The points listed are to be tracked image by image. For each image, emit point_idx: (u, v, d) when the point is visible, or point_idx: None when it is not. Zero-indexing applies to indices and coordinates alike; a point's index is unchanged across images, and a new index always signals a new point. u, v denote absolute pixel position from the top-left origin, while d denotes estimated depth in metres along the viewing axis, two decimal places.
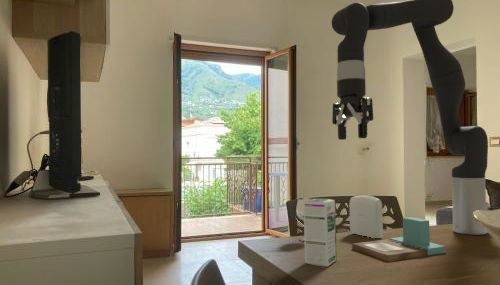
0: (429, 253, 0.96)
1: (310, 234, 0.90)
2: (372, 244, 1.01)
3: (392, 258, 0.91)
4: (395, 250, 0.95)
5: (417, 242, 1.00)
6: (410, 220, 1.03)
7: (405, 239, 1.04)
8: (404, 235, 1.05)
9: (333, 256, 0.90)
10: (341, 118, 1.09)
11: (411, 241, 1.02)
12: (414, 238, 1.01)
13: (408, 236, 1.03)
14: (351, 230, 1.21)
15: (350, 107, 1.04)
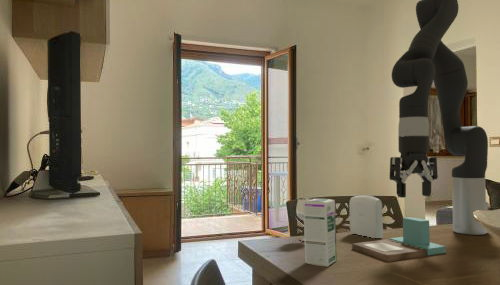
0: (429, 253, 0.96)
1: (310, 234, 0.90)
2: (372, 244, 1.01)
3: (392, 258, 0.91)
4: (395, 250, 0.95)
5: (417, 242, 1.00)
6: (410, 220, 1.03)
7: (405, 239, 1.04)
8: (404, 235, 1.05)
9: (333, 256, 0.90)
10: None
11: (411, 241, 1.02)
12: (414, 238, 1.01)
13: (408, 236, 1.03)
14: (351, 230, 1.21)
15: (424, 165, 1.02)
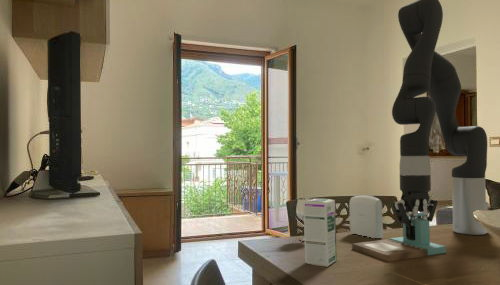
0: (429, 253, 0.96)
1: (311, 234, 0.90)
2: (372, 244, 1.01)
3: (392, 258, 0.91)
4: (395, 250, 0.95)
5: (417, 242, 1.01)
6: None
7: (405, 239, 1.04)
8: (404, 235, 1.05)
9: (333, 256, 0.90)
10: None
11: (411, 241, 1.02)
12: None
13: None
14: (351, 230, 1.21)
15: (425, 204, 1.02)
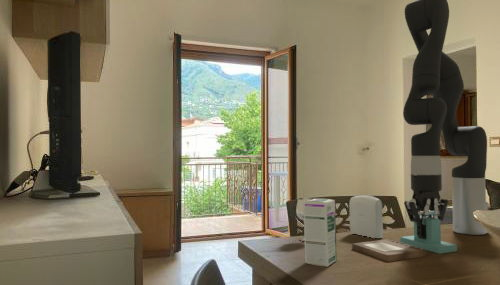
0: (441, 252, 0.97)
1: (311, 234, 0.90)
2: (372, 244, 1.01)
3: (392, 258, 0.91)
4: (395, 250, 0.95)
5: (428, 241, 1.02)
6: None
7: (416, 238, 1.06)
8: (415, 234, 1.06)
9: (333, 256, 0.90)
10: None
11: (422, 240, 1.04)
12: None
13: None
14: (351, 230, 1.21)
15: (436, 203, 1.03)
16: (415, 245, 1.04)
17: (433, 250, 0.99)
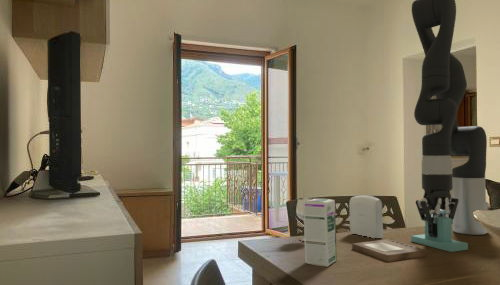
0: (452, 250, 0.99)
1: (310, 234, 0.90)
2: (372, 244, 1.01)
3: (392, 258, 0.91)
4: (395, 250, 0.95)
5: (439, 239, 1.04)
6: None
7: (427, 236, 1.07)
8: (426, 232, 1.08)
9: (333, 256, 0.90)
10: None
11: (433, 238, 1.05)
12: None
13: None
14: (351, 230, 1.21)
15: (447, 203, 1.05)
16: (426, 244, 1.06)
17: (444, 248, 1.00)
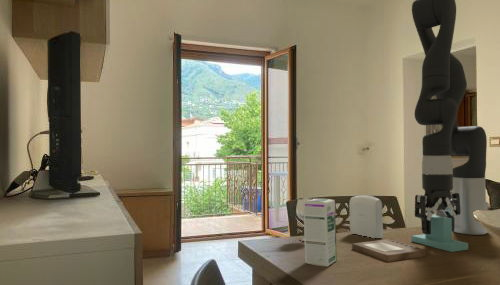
0: (453, 250, 0.99)
1: (310, 234, 0.90)
2: (372, 244, 1.01)
3: (392, 258, 0.91)
4: (395, 250, 0.95)
5: (440, 239, 1.04)
6: (432, 218, 1.06)
7: (427, 236, 1.07)
8: None
9: (333, 256, 0.90)
10: None
11: (434, 238, 1.05)
12: (437, 235, 1.05)
13: None
14: (351, 230, 1.21)
15: (448, 202, 1.05)
16: (426, 243, 1.06)
17: (445, 248, 1.00)
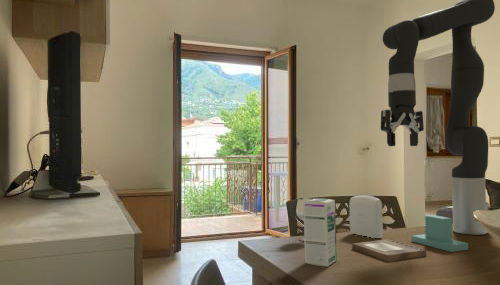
0: (453, 250, 0.99)
1: (310, 234, 0.90)
2: (372, 244, 1.01)
3: (392, 258, 0.91)
4: (395, 250, 0.95)
5: (440, 239, 1.04)
6: (432, 218, 1.06)
7: (427, 236, 1.07)
8: (426, 232, 1.08)
9: (333, 256, 0.90)
10: None
11: (434, 238, 1.05)
12: (437, 235, 1.05)
13: (430, 233, 1.06)
14: (351, 230, 1.21)
15: (412, 117, 1.14)
16: (426, 243, 1.06)
17: (445, 248, 1.00)
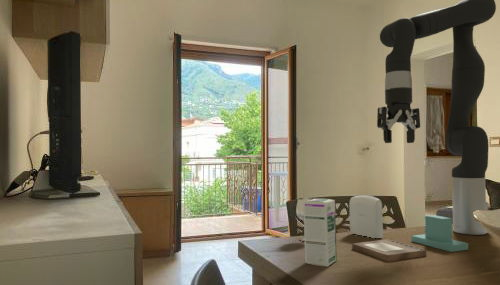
0: (453, 250, 0.99)
1: (310, 234, 0.90)
2: (372, 244, 1.01)
3: (392, 258, 0.91)
4: (395, 250, 0.95)
5: (440, 239, 1.04)
6: (432, 218, 1.06)
7: (427, 236, 1.07)
8: (426, 232, 1.08)
9: (333, 256, 0.90)
10: None
11: (434, 238, 1.05)
12: (437, 235, 1.05)
13: (430, 233, 1.06)
14: (351, 230, 1.21)
15: (408, 114, 1.15)
16: (426, 243, 1.06)
17: (445, 248, 1.00)
